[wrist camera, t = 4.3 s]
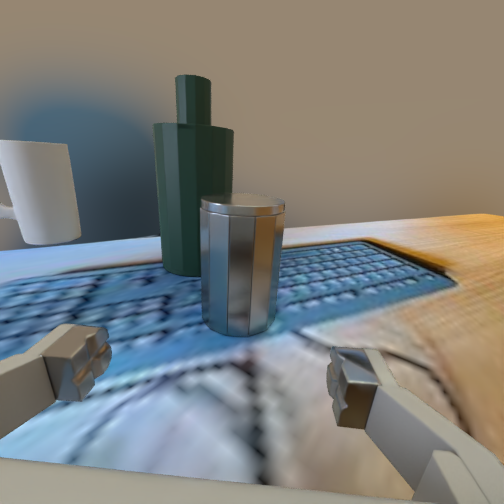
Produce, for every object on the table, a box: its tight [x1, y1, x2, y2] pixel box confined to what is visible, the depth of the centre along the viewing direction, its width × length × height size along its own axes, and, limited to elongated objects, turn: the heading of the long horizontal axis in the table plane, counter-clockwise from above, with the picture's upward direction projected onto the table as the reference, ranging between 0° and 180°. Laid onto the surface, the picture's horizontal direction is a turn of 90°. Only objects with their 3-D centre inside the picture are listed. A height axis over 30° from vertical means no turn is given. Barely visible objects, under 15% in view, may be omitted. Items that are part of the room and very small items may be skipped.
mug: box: [0, 140, 81, 245], centre depth 32 cm, size 10×7×12 cm, turn 106°
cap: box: [200, 193, 285, 336], centre depth 19 cm, size 6×6×9 cm
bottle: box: [153, 75, 234, 276], centre depth 26 cm, size 8×8×18 cm
